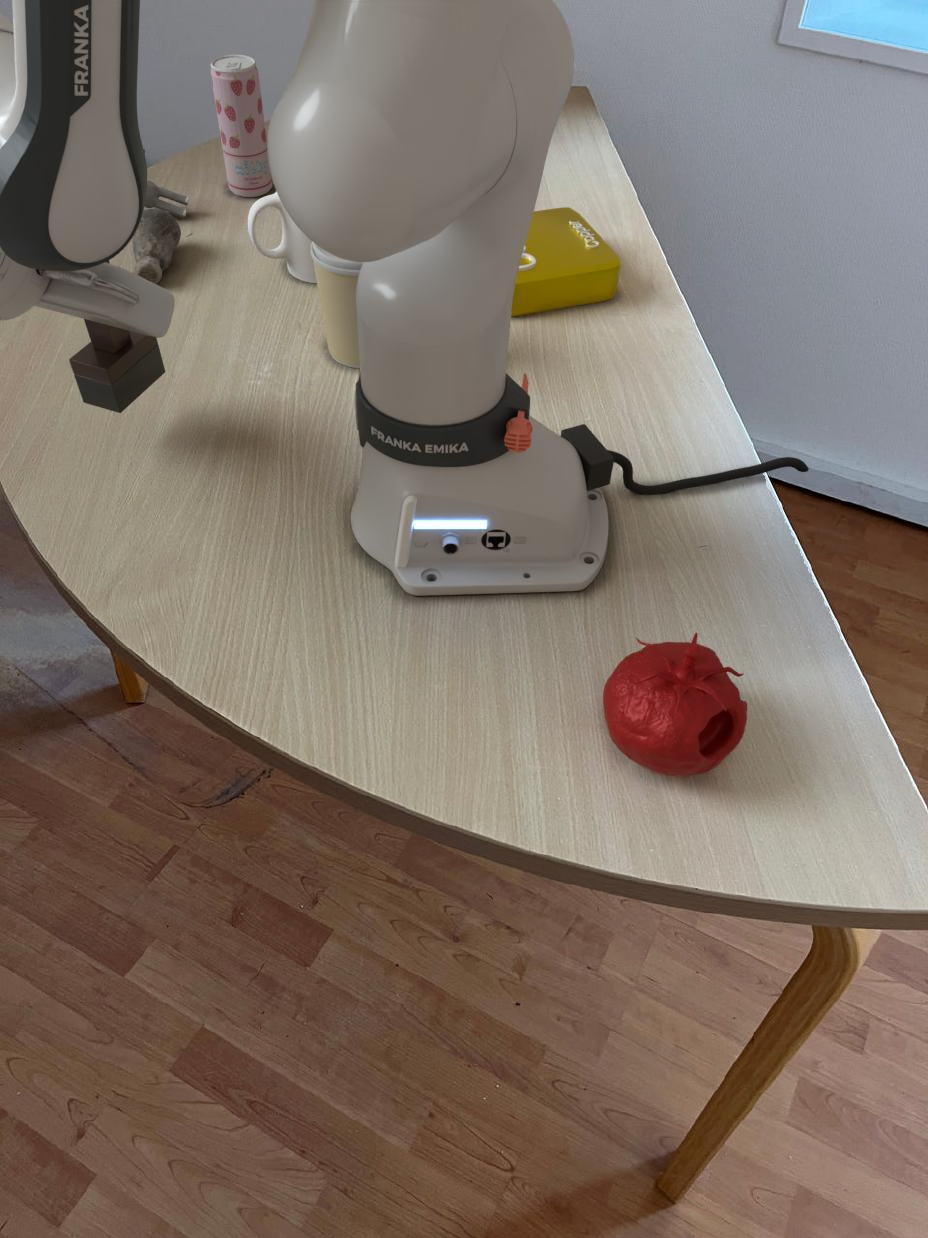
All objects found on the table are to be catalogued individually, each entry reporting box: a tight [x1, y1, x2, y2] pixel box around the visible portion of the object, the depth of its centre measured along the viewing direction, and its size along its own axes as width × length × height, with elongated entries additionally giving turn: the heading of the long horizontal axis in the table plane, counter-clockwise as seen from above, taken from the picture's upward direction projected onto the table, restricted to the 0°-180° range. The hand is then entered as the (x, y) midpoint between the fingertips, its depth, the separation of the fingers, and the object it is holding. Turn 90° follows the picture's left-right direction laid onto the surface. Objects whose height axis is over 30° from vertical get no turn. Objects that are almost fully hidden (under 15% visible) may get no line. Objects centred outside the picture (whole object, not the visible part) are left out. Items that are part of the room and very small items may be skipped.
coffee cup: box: [311, 241, 363, 370], centre depth 94 cm, size 9×9×12 cm
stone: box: [131, 208, 182, 285], centre depth 107 cm, size 10×5×8 cm
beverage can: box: [210, 54, 273, 198], centre depth 116 cm, size 6×6×15 cm
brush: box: [68, 260, 166, 414], centre depth 80 cm, size 7×4×14 cm, turn 158°
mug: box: [247, 190, 317, 284], centre depth 105 cm, size 12×8×10 cm
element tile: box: [511, 206, 622, 317], centre depth 107 cm, size 15×15×5 cm
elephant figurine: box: [143, 148, 190, 219], centre depth 114 cm, size 10×6×9 cm
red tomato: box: [602, 632, 748, 777], centre depth 64 cm, size 10×10×9 cm
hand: (107, 310), depth 80 cm, fingers closed on brush, 2 cm apart
